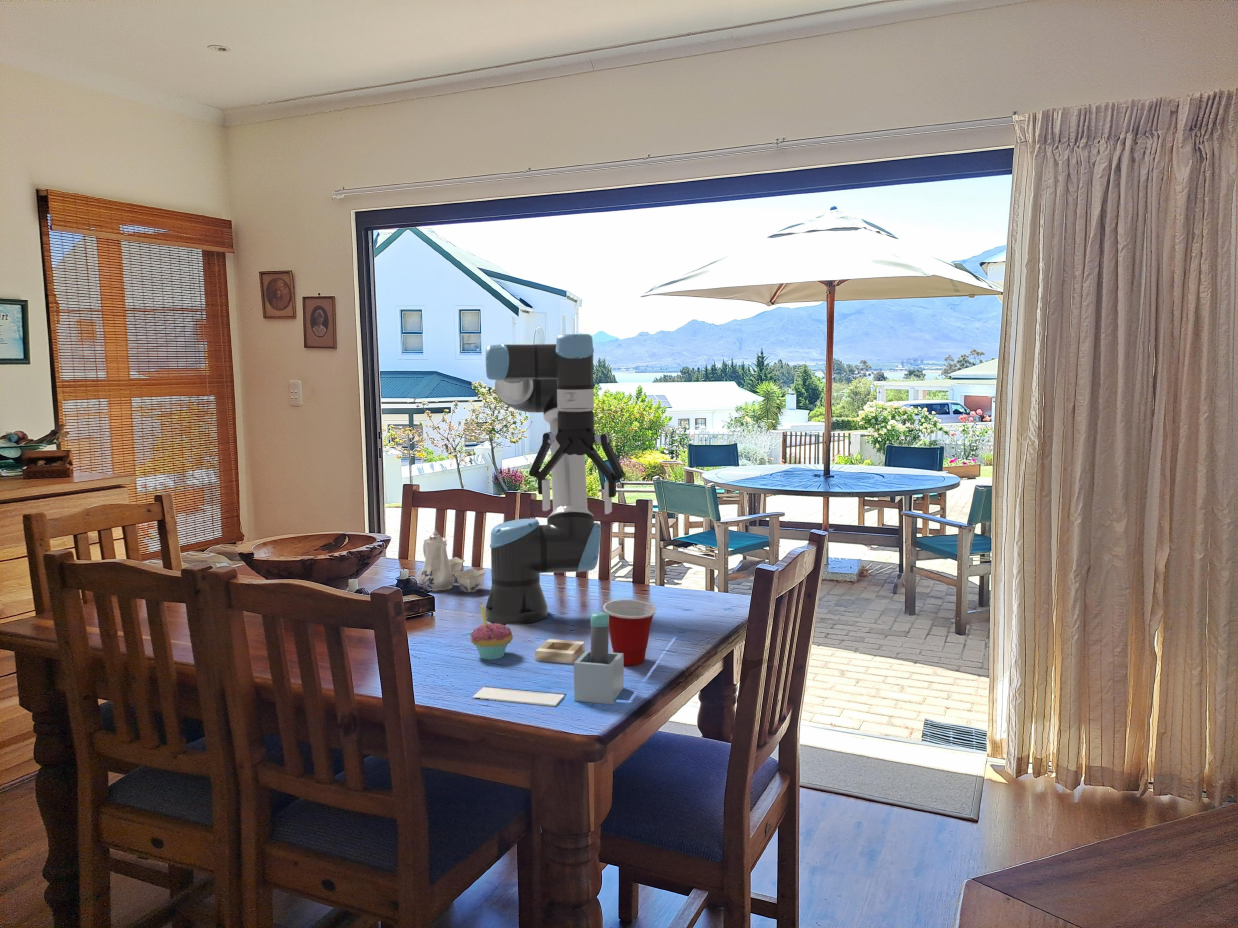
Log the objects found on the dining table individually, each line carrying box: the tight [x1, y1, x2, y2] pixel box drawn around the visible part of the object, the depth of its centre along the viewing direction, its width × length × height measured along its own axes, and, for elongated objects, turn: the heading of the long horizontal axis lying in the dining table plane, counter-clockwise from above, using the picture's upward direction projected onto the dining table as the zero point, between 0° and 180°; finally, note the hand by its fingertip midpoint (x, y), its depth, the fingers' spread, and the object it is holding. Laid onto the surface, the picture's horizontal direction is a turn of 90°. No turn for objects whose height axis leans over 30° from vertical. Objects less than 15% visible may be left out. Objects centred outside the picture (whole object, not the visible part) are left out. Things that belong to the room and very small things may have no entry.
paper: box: [472, 685, 567, 707], centre depth 161 cm, size 16×14×1 cm
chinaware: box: [417, 530, 486, 593], centre depth 240 cm, size 28×17×17 cm, turn 35°
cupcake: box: [470, 601, 514, 660], centre depth 178 cm, size 9×8×12 cm
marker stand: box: [534, 638, 586, 665], centre depth 178 cm, size 8×8×2 cm
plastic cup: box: [602, 599, 658, 667], centre depth 173 cm, size 11×11×12 cm
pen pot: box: [573, 649, 625, 705], centre depth 156 cm, size 7×7×7 cm
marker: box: [590, 611, 610, 664], centre depth 156 cm, size 3×3×14 cm
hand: (577, 511), depth 180 cm, fingers open, 13 cm apart
